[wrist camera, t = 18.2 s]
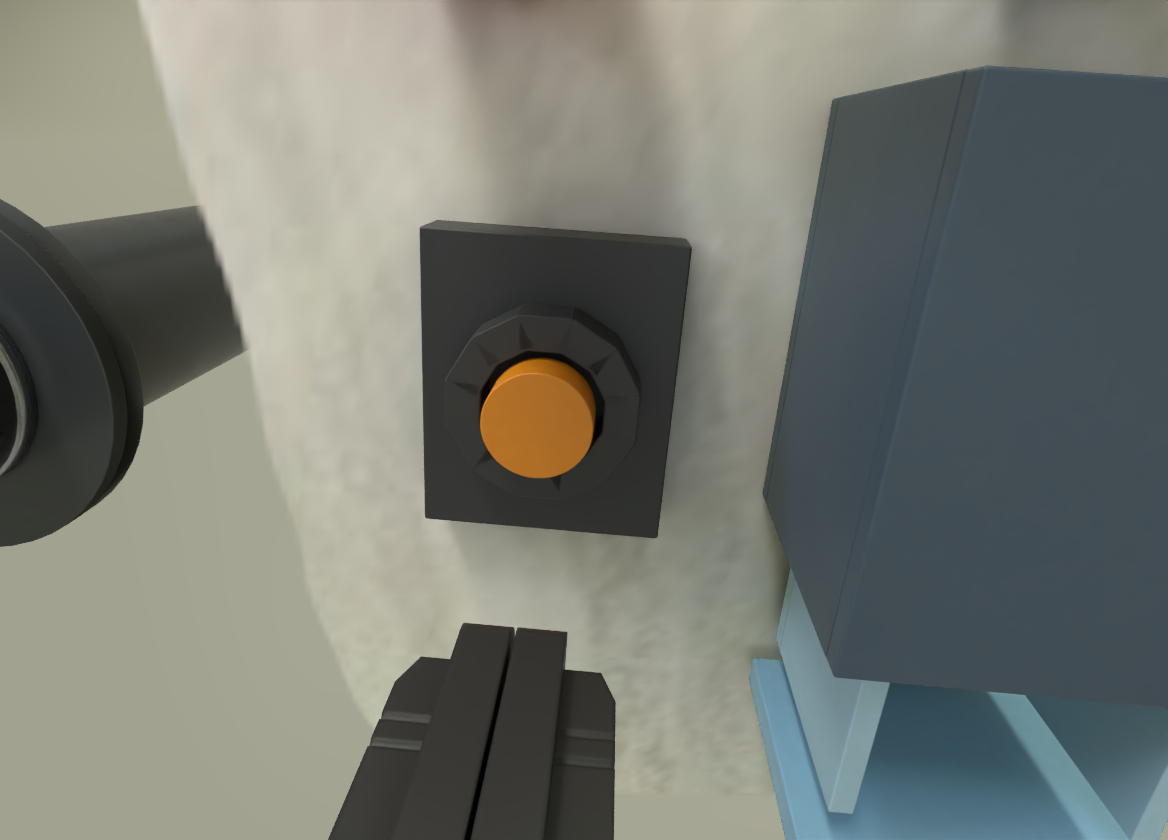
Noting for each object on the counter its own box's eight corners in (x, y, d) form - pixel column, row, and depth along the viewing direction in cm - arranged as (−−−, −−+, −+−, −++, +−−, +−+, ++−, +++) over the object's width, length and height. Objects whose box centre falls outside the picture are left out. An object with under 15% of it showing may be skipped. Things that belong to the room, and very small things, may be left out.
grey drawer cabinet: (1079, 521, 28) (1322, 724, 18) (761, 494, 29) (833, 679, 19) (1225, 125, 23) (1679, 110, 13) (832, 98, 23) (984, 64, 13)
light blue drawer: (983, 784, 32) (1105, 1002, 24) (732, 760, 33) (768, 967, 24) (1121, 411, 26) (1354, 538, 17) (804, 386, 26) (886, 498, 18)
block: (438, 492, 29) (411, 543, 26) (435, 219, 25) (402, 232, 22) (655, 511, 29) (659, 565, 25) (687, 238, 25) (697, 254, 21)
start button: (488, 452, 25) (479, 474, 23) (490, 352, 23) (480, 368, 22) (592, 460, 24) (589, 483, 23) (599, 361, 23) (597, 378, 22)
